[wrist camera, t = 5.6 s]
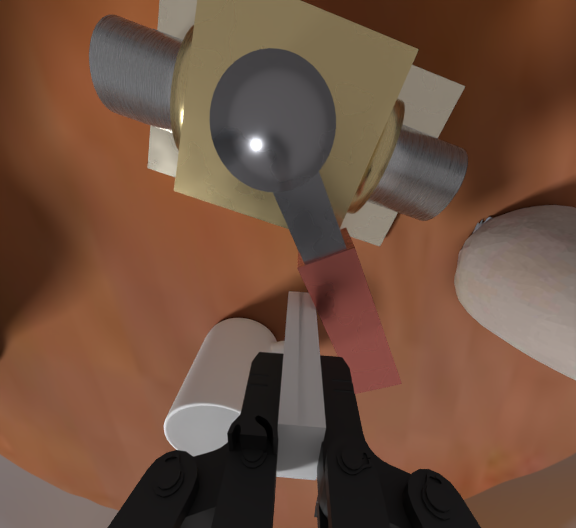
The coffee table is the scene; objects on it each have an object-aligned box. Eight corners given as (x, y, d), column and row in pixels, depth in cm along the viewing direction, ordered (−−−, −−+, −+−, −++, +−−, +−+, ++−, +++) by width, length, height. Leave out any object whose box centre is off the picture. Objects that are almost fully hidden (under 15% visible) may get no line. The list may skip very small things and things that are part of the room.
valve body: (154, 166, 22) (46, 190, 13) (170, -28, 16) (5, -224, 7) (377, 242, 23) (421, 309, 14) (457, 88, 18) (606, 44, 9)
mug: (293, 295, 26) (287, 381, 17) (321, 352, 30) (327, 451, 20) (193, 326, 29) (141, 415, 20) (228, 376, 32) (197, 472, 23)
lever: (213, 99, 10) (184, 89, 8) (307, 47, 9) (308, 18, 7) (336, 360, 16) (341, 400, 14) (401, 344, 15) (419, 383, 13)
